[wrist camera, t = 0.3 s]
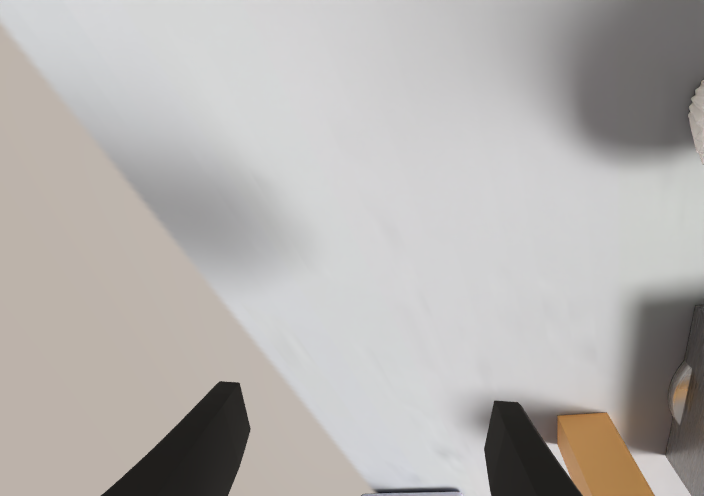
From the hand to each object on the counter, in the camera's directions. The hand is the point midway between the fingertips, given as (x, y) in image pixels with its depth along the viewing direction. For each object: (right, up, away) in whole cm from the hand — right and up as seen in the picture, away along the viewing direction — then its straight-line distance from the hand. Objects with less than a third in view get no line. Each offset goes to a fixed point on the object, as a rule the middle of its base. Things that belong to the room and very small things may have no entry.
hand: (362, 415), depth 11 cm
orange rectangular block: (+14, -7, +13) cm, 20 cm away
